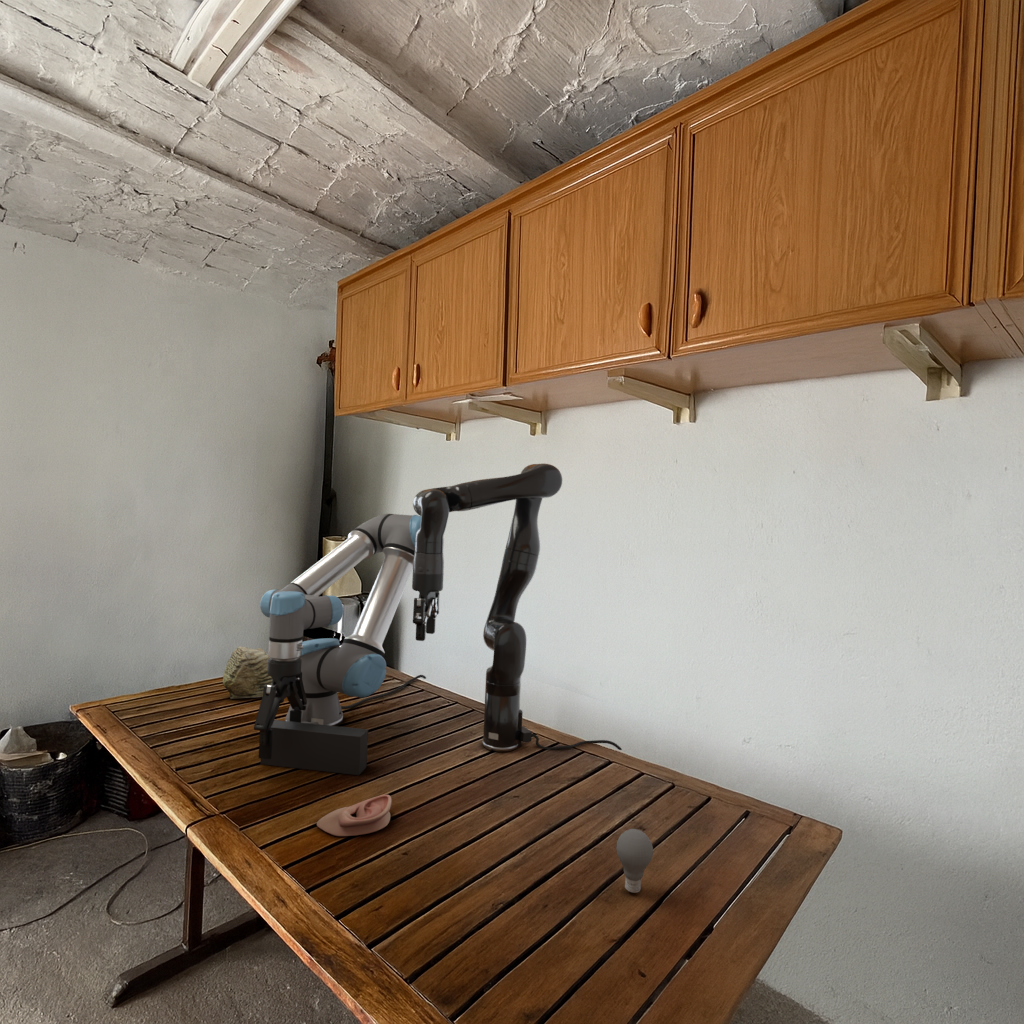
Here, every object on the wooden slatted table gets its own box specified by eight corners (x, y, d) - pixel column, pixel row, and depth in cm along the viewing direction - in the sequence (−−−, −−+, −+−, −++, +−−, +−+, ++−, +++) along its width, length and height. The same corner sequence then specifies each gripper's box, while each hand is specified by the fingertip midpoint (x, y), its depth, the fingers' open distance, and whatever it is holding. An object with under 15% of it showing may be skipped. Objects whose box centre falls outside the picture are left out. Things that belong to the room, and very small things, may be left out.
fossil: (218, 695, 195) (220, 647, 195) (278, 685, 208) (279, 640, 207) (228, 703, 189) (230, 653, 188) (289, 692, 201) (290, 645, 201)
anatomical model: (309, 810, 119) (337, 784, 131) (308, 831, 119) (337, 803, 131) (375, 821, 117) (398, 793, 128) (374, 842, 117) (397, 812, 128)
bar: (260, 764, 148) (261, 726, 148) (271, 756, 153) (272, 719, 153) (358, 775, 145) (360, 736, 145) (366, 767, 149) (368, 729, 149)
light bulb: (610, 879, 108) (613, 822, 108) (644, 879, 109) (647, 822, 109) (619, 902, 102) (622, 840, 102) (655, 901, 103) (658, 840, 103)
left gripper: (272, 672, 137) (267, 770, 137) (323, 648, 161) (319, 731, 161) (240, 668, 138) (235, 766, 138) (295, 645, 162) (291, 728, 163)
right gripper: (435, 575, 147) (432, 644, 148) (450, 568, 161) (447, 632, 162) (404, 573, 148) (401, 641, 149) (421, 567, 163) (419, 630, 163)
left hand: (280, 747), depth 150 cm, fingers open, 13 cm apart
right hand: (425, 636), depth 155 cm, fingers open, 8 cm apart
